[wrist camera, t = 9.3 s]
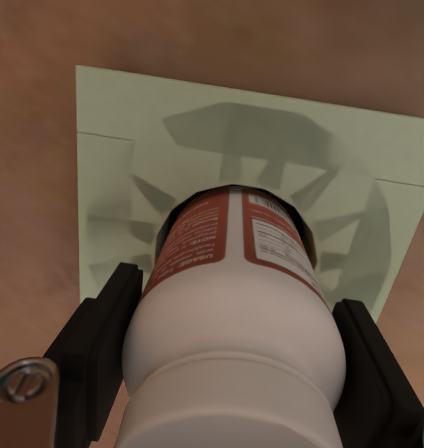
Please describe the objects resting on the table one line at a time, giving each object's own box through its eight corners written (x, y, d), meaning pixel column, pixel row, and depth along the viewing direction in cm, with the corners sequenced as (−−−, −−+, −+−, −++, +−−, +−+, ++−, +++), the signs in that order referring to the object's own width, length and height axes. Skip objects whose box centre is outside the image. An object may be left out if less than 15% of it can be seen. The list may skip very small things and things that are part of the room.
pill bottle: (176, 293, 18) (91, 569, 8) (167, 182, 16) (28, 370, 5) (293, 296, 17) (369, 596, 7) (302, 182, 15) (436, 388, 5)
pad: (105, 68, 15) (74, 64, 12) (418, 117, 15) (461, 124, 12) (102, 319, 20) (80, 356, 17) (329, 356, 20) (344, 400, 17)
